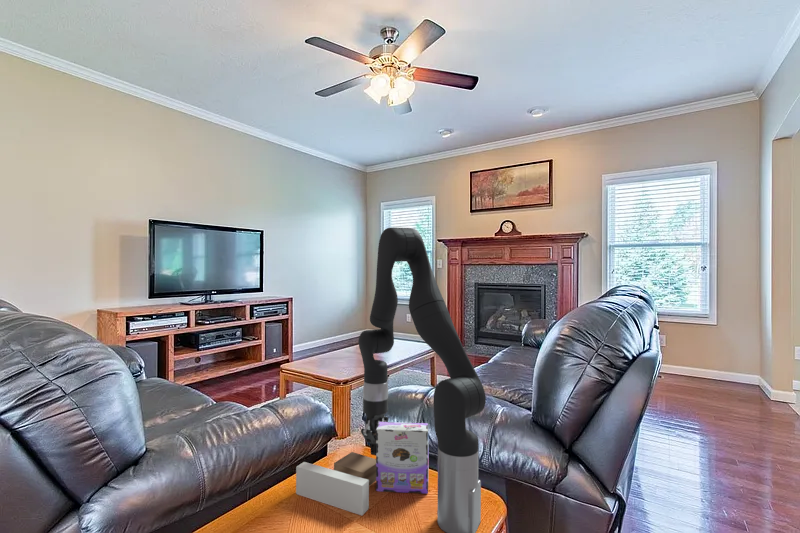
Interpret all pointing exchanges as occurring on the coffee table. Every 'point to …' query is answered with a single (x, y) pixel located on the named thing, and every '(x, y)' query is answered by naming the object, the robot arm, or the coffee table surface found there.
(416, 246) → the robot arm
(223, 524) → the coffee table surface
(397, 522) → the coffee table surface
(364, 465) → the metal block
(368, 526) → the coffee table surface
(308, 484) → the painted board
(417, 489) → the candy box
